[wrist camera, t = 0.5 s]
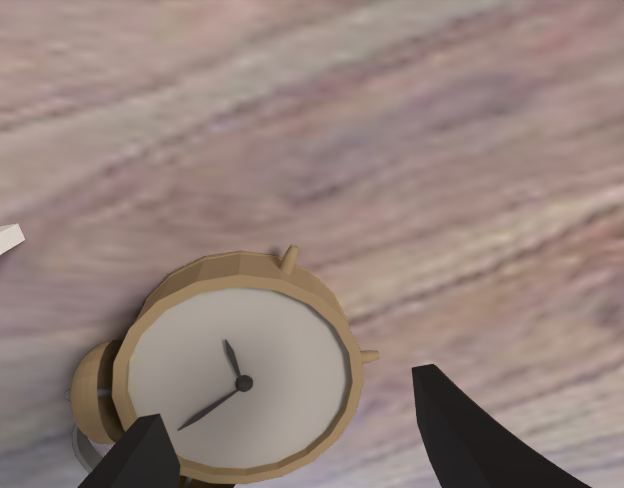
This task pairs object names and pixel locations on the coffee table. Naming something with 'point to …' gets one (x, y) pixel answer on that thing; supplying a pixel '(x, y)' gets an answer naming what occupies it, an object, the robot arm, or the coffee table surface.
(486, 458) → the robot arm
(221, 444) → the alarm clock
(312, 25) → the coffee table surface
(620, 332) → the coffee table surface
